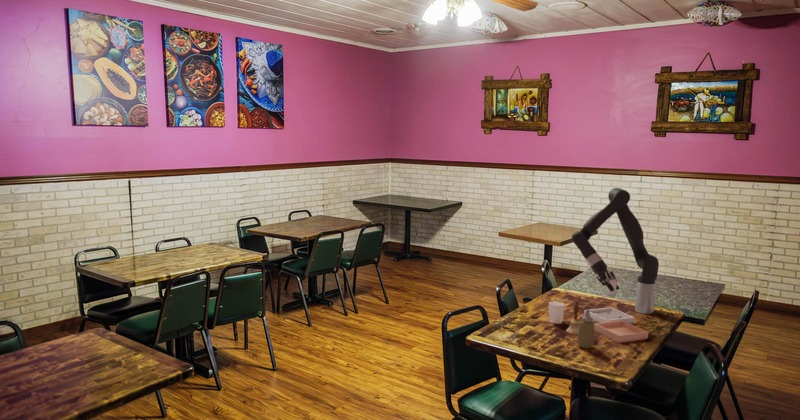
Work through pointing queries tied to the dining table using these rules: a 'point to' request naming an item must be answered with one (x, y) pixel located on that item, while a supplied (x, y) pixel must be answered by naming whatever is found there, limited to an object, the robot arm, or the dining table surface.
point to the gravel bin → (609, 315)
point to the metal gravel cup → (614, 285)
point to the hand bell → (574, 321)
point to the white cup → (556, 312)
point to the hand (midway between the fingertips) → (615, 289)
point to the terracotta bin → (620, 331)
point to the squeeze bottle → (586, 331)
